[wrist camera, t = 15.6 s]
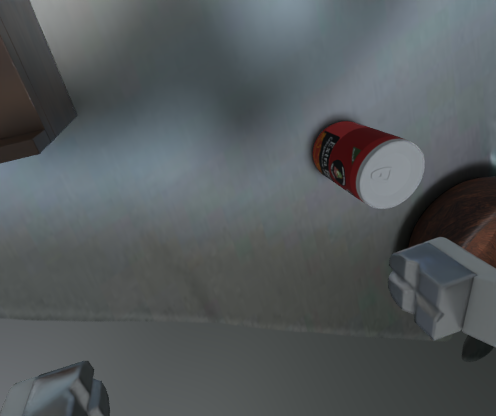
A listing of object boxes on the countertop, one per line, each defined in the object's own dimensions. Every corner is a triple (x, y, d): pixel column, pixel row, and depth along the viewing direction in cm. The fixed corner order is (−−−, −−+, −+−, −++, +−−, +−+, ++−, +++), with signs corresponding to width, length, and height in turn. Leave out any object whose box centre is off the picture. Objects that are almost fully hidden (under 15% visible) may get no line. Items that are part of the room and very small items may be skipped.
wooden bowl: (426, 156, 48) (491, 181, 39) (537, 168, 56) (611, 190, 47) (373, 292, 58) (415, 336, 49) (474, 286, 66) (526, 322, 57)
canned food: (308, 127, 41) (359, 151, 31) (364, 113, 42) (429, 131, 32) (312, 182, 44) (359, 218, 35) (364, 167, 46) (422, 198, 36)
